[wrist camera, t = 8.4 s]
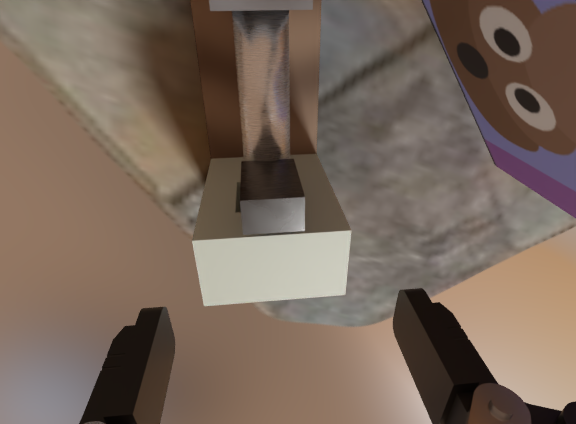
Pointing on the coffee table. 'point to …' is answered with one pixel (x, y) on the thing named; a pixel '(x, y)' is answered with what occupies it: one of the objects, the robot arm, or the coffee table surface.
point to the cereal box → (518, 84)
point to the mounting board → (223, 75)
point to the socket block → (269, 242)
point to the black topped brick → (266, 124)
